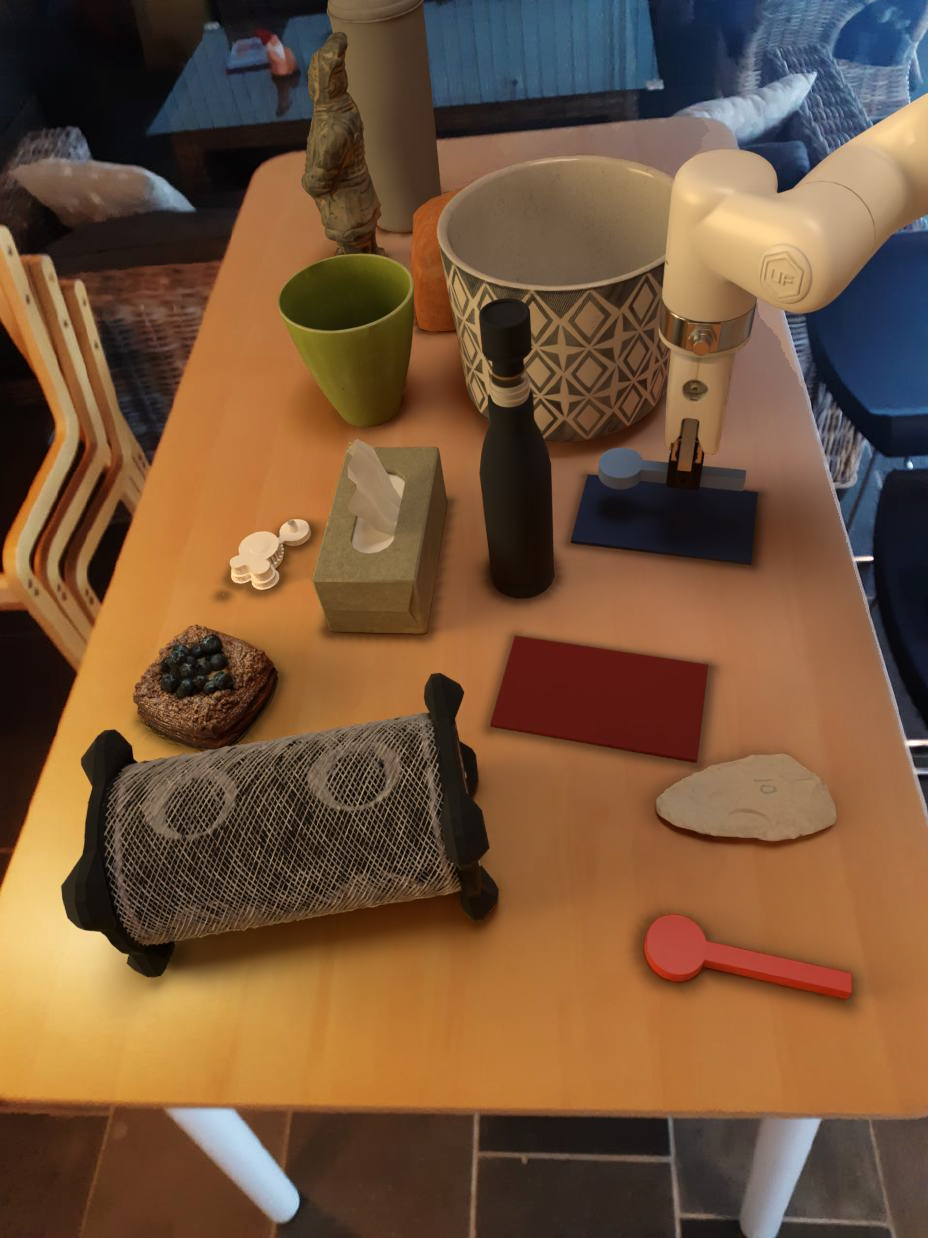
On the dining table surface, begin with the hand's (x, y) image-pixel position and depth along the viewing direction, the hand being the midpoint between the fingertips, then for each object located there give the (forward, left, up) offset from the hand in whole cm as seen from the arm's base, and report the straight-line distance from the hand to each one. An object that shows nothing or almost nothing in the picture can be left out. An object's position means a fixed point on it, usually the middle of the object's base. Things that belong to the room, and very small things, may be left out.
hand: (683, 478), depth 87 cm
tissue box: (+28, +11, -6) cm, 31 cm away
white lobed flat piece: (+41, +13, -6) cm, 44 cm away
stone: (-9, +31, -6) cm, 33 cm away
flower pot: (+38, -13, -6) cm, 41 cm away
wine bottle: (+14, +10, -6) cm, 19 cm away
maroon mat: (+4, +23, -6) cm, 24 cm away
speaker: (+24, +44, -6) cm, 50 cm away
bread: (+23, -39, -6) cm, 46 cm away
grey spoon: (+1, 0, 0) cm, 1 cm away
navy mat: (+1, 0, -6) cm, 6 cm away
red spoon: (-10, +44, -6) cm, 46 cm away
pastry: (+40, +30, -6) cm, 51 cm away
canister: (+47, -58, -6) cm, 75 cm away
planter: (+15, -19, -6) cm, 25 cm away
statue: (+50, -42, -6) cm, 66 cm away
